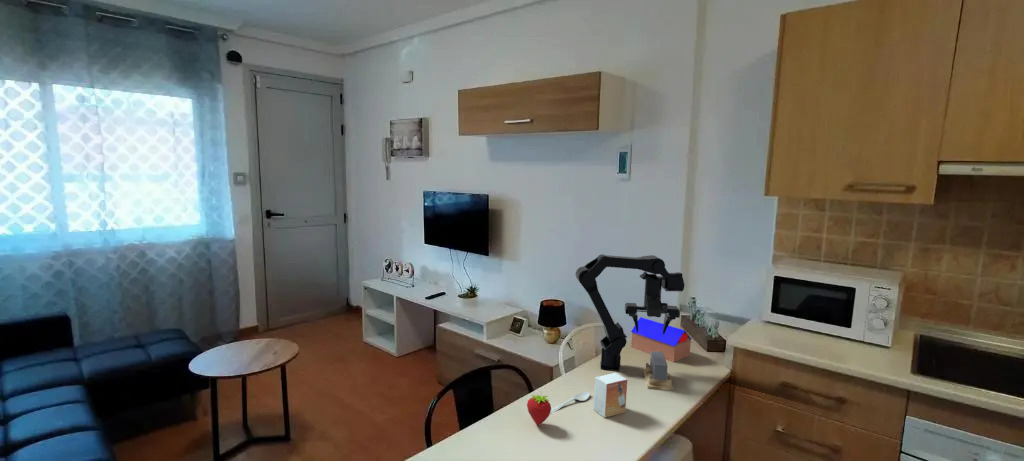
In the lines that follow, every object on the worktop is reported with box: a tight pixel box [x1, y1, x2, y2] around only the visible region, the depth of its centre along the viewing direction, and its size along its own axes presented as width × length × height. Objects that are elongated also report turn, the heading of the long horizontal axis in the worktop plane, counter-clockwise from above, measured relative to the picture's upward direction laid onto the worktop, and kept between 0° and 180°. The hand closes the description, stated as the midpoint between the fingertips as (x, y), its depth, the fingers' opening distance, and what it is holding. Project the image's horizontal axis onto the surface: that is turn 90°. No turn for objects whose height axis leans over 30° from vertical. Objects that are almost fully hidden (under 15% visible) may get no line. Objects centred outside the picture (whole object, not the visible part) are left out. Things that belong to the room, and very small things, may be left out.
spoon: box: [550, 391, 590, 414], centre depth 147 cm, size 4×21×2 cm, turn 130°
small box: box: [593, 372, 628, 419], centre depth 143 cm, size 8×6×10 cm
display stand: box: [643, 362, 674, 392], centre depth 165 cm, size 8×14×4 cm, turn 170°
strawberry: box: [526, 391, 552, 426], centre depth 135 cm, size 6×8×10 cm
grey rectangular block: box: [649, 351, 668, 380], centre depth 165 cm, size 4×12×5 cm, turn 170°
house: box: [630, 316, 692, 363], centre depth 192 cm, size 12×20×12 cm, turn 40°
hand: (650, 332), depth 175 cm, fingers open, 9 cm apart
